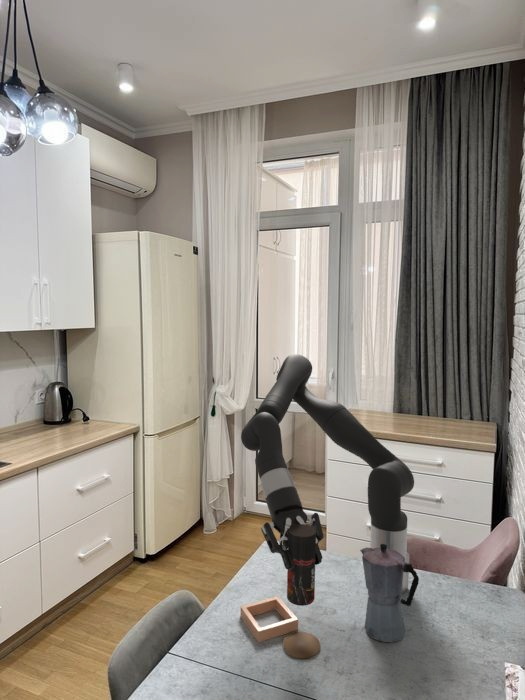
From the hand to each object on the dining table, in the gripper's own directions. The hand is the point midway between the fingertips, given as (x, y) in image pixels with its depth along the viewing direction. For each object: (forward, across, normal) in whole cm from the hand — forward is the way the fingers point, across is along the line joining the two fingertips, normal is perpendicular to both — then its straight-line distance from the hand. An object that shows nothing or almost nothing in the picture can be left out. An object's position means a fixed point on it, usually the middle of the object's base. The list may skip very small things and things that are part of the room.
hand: (305, 566), depth 102 cm
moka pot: (+15, -20, -11) cm, 28 cm away
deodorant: (+4, 0, -7) cm, 8 cm away
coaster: (+12, 0, -14) cm, 19 cm away
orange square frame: (+5, +3, -21) cm, 22 cm away
